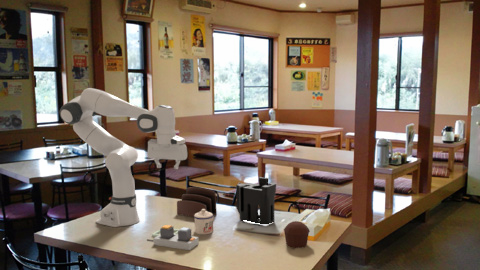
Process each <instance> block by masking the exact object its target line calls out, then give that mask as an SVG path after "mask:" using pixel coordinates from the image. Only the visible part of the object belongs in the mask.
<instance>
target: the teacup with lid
mask: <svg viewBox="0 0 480 270" xmlns="http://www.w3.org/2000/svg"><path fill="white" fill-rule="evenodd" d="M193 218H194V233H195V234H198V235H209V234H211V233H214V222H215V216H213V214H212V213H210V212H208V211H206V210H205V209H202V210H201V211H200V212H198V213H196V214H195V215H194V217H193Z"/></svg>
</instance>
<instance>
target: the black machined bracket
mask: <svg viewBox="0 0 480 270" xmlns="http://www.w3.org/2000/svg"><path fill="white" fill-rule="evenodd" d="M235 191H236V192H235V193H236V194H235V196H236V198H235V199H236V210H237V212H238V214H239V221H240V222H241V221H243V220H247V221H251V222H255V223H260V224H269V223H272V222H274V223H275V196H276V192H277V182H270V183H269V178H268V177H262V176H259V177H258V183H248V182H247V183H241V182H240V183H238V184H236V185H235ZM258 218H260V220H259V219H258Z"/></svg>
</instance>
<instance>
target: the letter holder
mask: <svg viewBox="0 0 480 270" xmlns="http://www.w3.org/2000/svg"><path fill="white" fill-rule="evenodd" d="M185 191H186V193H185V194H182V195H181V200H177V201H176V215H179V216H184V217H190V218H194V215H195V214H196V213H198V212H200V211H201V210H202V209H205V210H206V211H208V212H210V213H212V214H213V216H214V217H215V216H217V212H218V211H217V199H216V197H217V195H216V192H215V190H212V189H209V188H208V189H207V188H203V187H191V186H190V187H187V188H186V190H185Z"/></svg>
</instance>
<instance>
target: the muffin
mask: <svg viewBox="0 0 480 270" xmlns="http://www.w3.org/2000/svg"><path fill="white" fill-rule="evenodd" d="M310 231H311V230H310V229H309V227H308V226H307V224H305V223H303V222H302V221H297V220H295V221H291V222H289V223H288V224H286V226H285V227H284V228H283V232H284V237H285V244H286V246H287V247H288V248H292V249H303V248H305V247H307V245H308V240H309V239H308V238H309V233H310Z"/></svg>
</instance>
